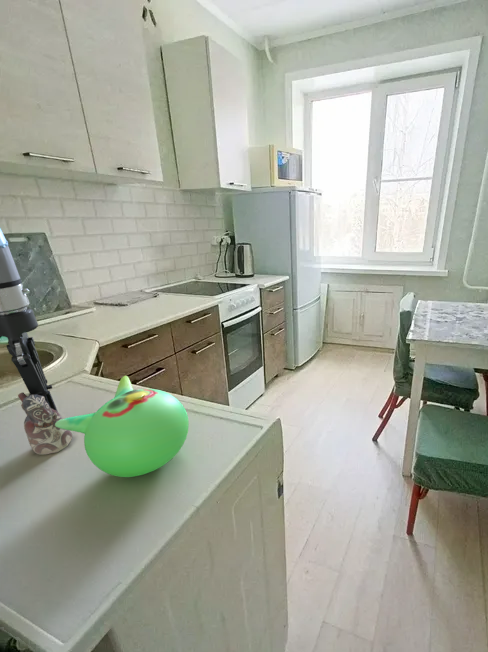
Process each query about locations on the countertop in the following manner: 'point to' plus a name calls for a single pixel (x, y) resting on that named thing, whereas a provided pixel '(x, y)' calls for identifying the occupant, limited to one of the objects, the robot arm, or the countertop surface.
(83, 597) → the countertop surface
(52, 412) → the figurine
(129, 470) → the toy bird
